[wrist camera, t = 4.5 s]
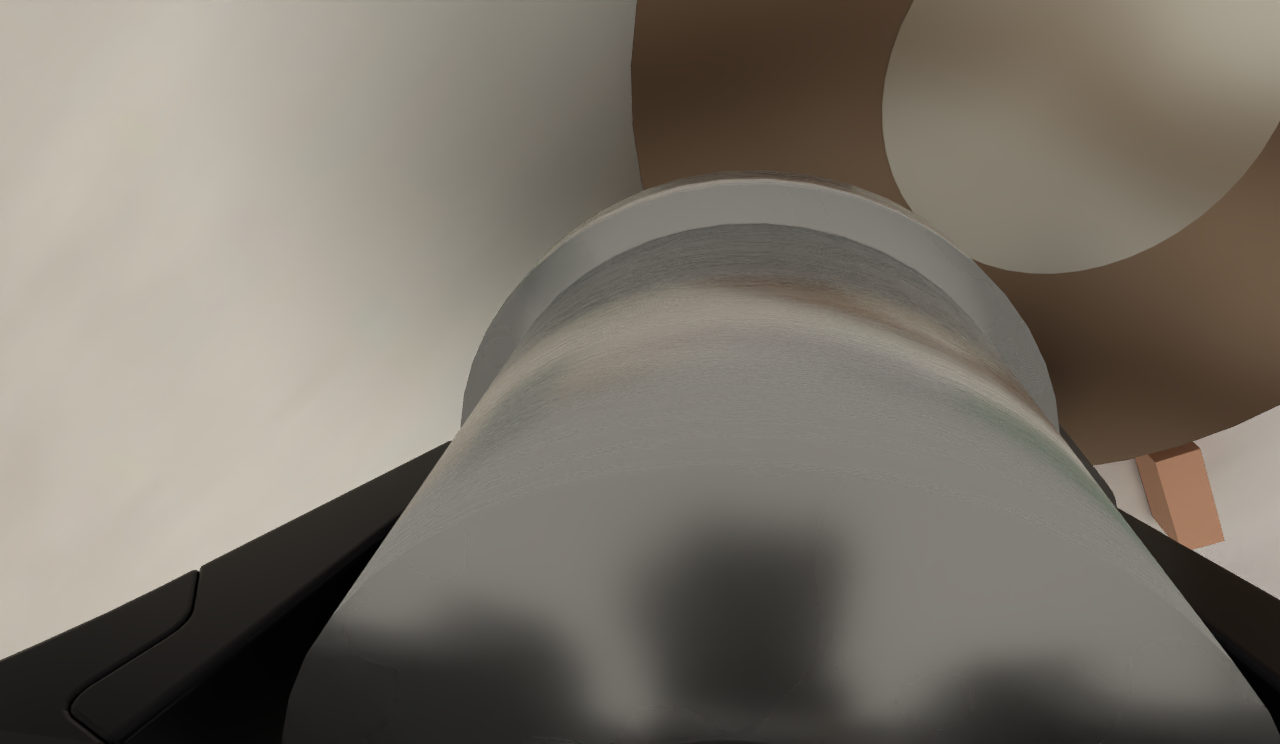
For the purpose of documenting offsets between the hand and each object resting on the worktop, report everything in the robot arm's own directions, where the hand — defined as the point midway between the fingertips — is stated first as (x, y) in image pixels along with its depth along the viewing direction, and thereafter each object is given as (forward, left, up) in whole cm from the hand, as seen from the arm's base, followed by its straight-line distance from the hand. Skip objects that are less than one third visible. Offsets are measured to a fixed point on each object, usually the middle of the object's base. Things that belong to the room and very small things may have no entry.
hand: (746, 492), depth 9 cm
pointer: (-5, -12, -11) cm, 17 cm away
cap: (0, 0, -1) cm, 1 cm away
